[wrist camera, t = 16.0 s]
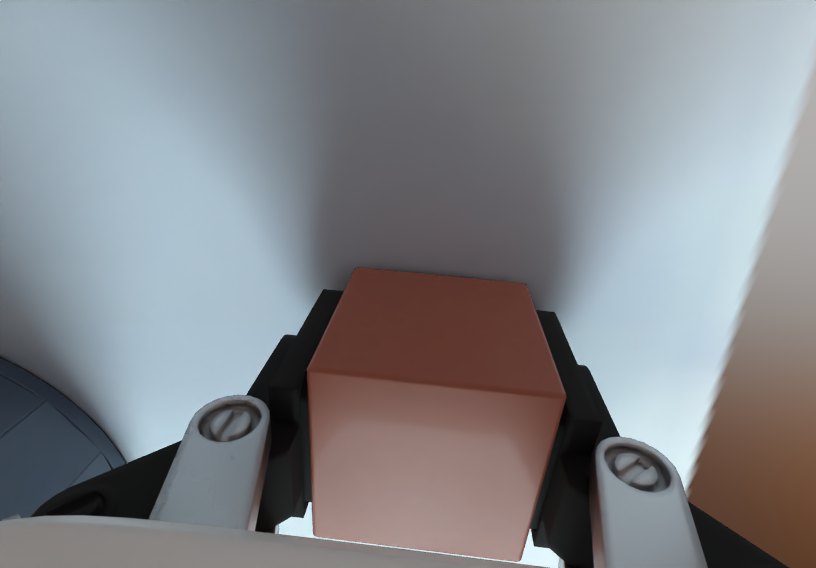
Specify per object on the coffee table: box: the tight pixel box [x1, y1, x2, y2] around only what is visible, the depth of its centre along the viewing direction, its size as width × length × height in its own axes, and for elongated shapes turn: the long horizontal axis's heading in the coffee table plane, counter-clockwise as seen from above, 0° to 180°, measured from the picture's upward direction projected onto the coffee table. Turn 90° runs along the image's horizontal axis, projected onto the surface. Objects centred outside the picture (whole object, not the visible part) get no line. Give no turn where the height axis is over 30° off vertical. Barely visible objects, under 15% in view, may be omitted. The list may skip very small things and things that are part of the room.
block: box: [307, 267, 566, 562], centre depth 10 cm, size 4×4×4 cm
